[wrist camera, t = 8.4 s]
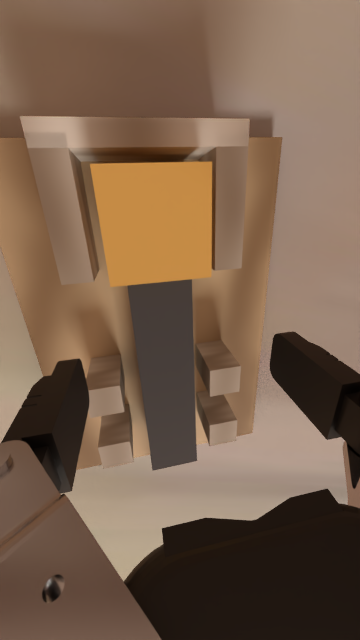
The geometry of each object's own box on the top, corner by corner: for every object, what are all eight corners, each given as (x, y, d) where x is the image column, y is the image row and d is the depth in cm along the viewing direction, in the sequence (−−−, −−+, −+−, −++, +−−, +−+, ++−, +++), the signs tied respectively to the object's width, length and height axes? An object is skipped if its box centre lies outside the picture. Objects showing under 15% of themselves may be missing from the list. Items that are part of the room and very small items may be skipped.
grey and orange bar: (101, 178, 13) (89, 163, 9) (186, 176, 14) (212, 161, 10) (139, 431, 21) (143, 487, 16) (193, 421, 21) (210, 471, 17)
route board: (272, 141, 15) (327, 115, 11) (247, 424, 24) (271, 467, 20) (-24, 143, 12) (-97, 109, 8) (76, 459, 22) (65, 516, 18)
